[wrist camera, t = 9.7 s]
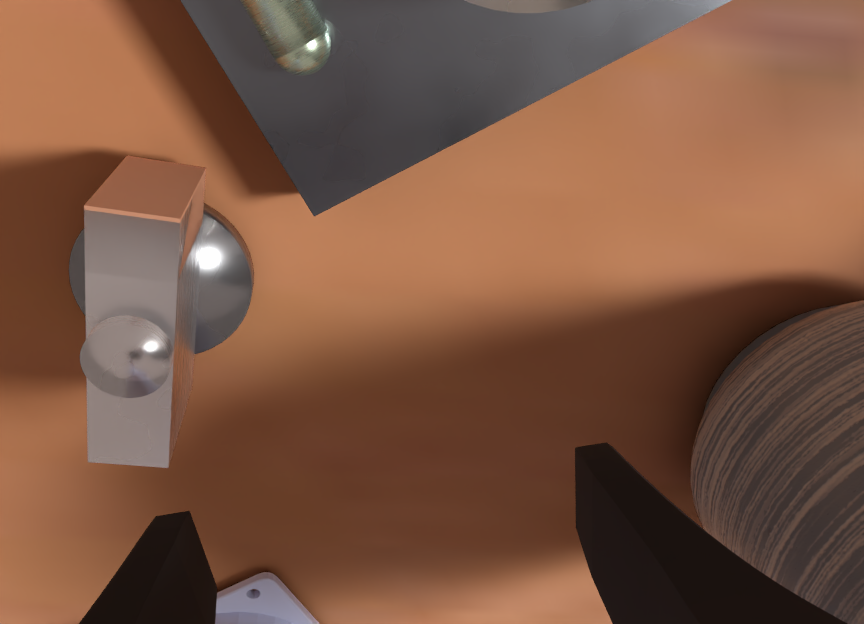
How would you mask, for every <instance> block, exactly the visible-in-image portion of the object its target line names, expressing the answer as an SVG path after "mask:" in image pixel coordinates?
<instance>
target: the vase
mask: <svg viewBox="0 0 864 624" xmlns="http://www.w3.org/2000/svg"><path fill="white" fill-rule="evenodd" d="M690 482H691V489H692V495H693V501H694V506H695V509H696V512H697V515H698V517H699V519H700V521H701V524H702V526H703V528H704V530H705V531H706V532H707V533H709V534H710V535H711V536H713V537H714V538H715V539H717V540H718V541H719V542H720V543H722V544H723V545H724V546H726V547H727V548H728V549H729V550H731V551H732V552H734V553H735V554H736V555H738V556H739V557H740V558H742V559H743V560H745V561H746V562H747V563H749V564H750V565H752V566H753V567H754V568H756V569H757V570H759V571H760V572H762V573H763V574H765V575H766V576H768V577H769V578H771V579H772V580H774V581H775V582H777V583H778V584H780V585H782V586H783V587H785V588H786V589H788V590H790V591H791V592H793V593H795V594H796V595H798V596H800V597H801V598H803V599H805V600H807V601H808V602H810V603H812V604H814V605H815V606H817V607H819V608H821V609H822V610H824V611H826V612H828V613H830V614H831V615H833V616H835V617H837V618H838V619H840V620H842V621H844V622H846V623H848V624H864V300H863V301H857V302H851V303H846V304H842V305H837V306H831V307H825V308H819V309H816V310H812V311H809V312H806V313H803V314H800V315H797V316H795V317H793V318H791V319H789V320H786V321H784V322H782V323H780V324H778V325H776V326H775V327H773V328H771V329H770V330H768V331H767V332H765V333H764V334H762V335H761V336H759V337H758V338H756V339H755V340H754V341H753V342H752V343H750V344H749V345H748V346H747V347H746V348H745V349H743V350H742V351H741V352H740V353H739V354H738V355H737V356H736V357H735V359H734V360H733V361H732V362H731V363H730V364H729V365H728V366H727V367H726V369H725V370H724V372H723V373H722V375H721V376H720V378H719V379H718V381H717V382H716V383H715V385H714V387H713V389H712V392H711V394H710V396H709V398H708V400H707V403H706V406H705V410H704V414H703V417H702V420H701V422H700V424H699V427H698V431H697V434H696V438H695V442H694V445H693V449H692V457H691V472H690Z"/></svg>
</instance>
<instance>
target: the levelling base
mask: <svg viewBox="0 0 864 624" xmlns="http://www.w3.org/2000/svg"><path fill="white" fill-rule="evenodd" d="M729 1H731V0H181V2H182V4H183V5H184V7H185V9H186V10H187V12H188V13H189V15H190V17H191V18H192V20H193V21H194V23H195V25H196V26H197V28H198V30H199V31H200V33H201V34H202V36H203V38H204V39H205V41H206V42H207V44H208V46H209V47H210V49H211V51H212V52H213V54H214V55H215V57H216V59H217V60H218V62H219V64H220V65H221V67H222V68H223V70H224V72H225V73H226V75H227V76H228V78H229V80H230V81H231V83H232V85H233V86H234V88H235V89H236V91H237V93H238V94H239V96H240V97H241V99H242V101H243V102H244V104H245V106H246V107H247V109H248V110H249V112H250V114H251V115H252V117H253V118H254V120H255V122H256V123H257V125H258V127H259V128H260V130H261V131H262V133H263V135H264V136H265V138H266V140H267V141H268V143H269V144H270V146H271V148H272V149H273V151H274V152H275V154H276V156H277V157H278V159H279V161H280V162H281V164H282V165H283V167H284V169H285V170H286V172H287V173H288V175H289V177H290V178H291V180H292V182H293V183H294V185H295V186H296V188H297V190H298V191H299V193H300V194H301V196H302V198H303V199H304V201H305V203H306V204H307V206H308V207H309V209H310V211H311V212H312V214H313V215H314V216H316V215H318V214H320V213H322V212H324V211H326V210H328V209H329V208H331V207H333V206H335V205H337V204H339V203H341V202H343V201H345V200H347V199H349V198H351V197H353V196H355V195H357V194H358V193H360V192H362V191H364V190H366V189H368V188H370V187H372V186H374V185H376V184H378V183H380V182H382V181H384V180H386V179H387V178H389V177H391V176H393V175H395V174H397V173H399V172H401V171H403V170H405V169H407V168H409V167H411V166H413V165H414V164H416V163H418V162H420V161H422V160H424V159H426V158H428V157H430V156H432V155H434V154H436V153H438V152H440V151H442V150H443V149H445V148H447V147H449V146H451V145H453V144H455V143H457V142H459V141H461V140H463V139H465V138H467V137H469V136H471V135H472V134H474V133H476V132H478V131H480V130H482V129H484V128H486V127H488V126H490V125H492V124H494V123H496V122H498V121H499V120H501V119H503V118H505V117H507V116H509V115H511V114H513V113H515V112H517V111H519V110H521V109H523V108H525V107H527V106H528V105H530V104H532V103H534V102H536V101H538V100H540V99H542V98H544V97H546V96H548V95H550V94H552V93H554V92H556V91H557V90H559V89H561V88H563V87H565V86H567V85H569V84H571V83H573V82H575V81H577V80H579V79H581V78H583V77H584V76H586V75H588V74H590V73H592V72H594V71H596V70H598V69H600V68H602V67H604V66H606V65H608V64H610V63H612V62H613V61H615V60H617V59H619V58H621V57H623V56H625V55H627V54H629V53H631V52H633V51H635V50H637V49H639V48H640V47H642V46H644V45H646V44H648V43H650V42H652V41H654V40H656V39H658V38H660V37H662V36H664V35H666V34H668V33H669V32H671V31H673V30H675V29H677V28H679V27H681V26H683V25H685V24H687V23H689V22H691V21H693V20H695V19H697V18H698V17H700V16H702V15H704V14H706V13H708V12H710V11H712V10H714V9H716V8H718V7H720V6H722V5H724V4H725V3H727V2H729Z"/></svg>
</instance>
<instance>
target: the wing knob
mask: <svg viewBox="0 0 864 624" xmlns="http://www.w3.org/2000/svg"><path fill="white" fill-rule="evenodd" d="M205 177H206V168H205V167H198V166H192V165H185V164H179V163H172V162H166V161H159V160H153V159H146V158H140V157H133V156H126V157H125V158H124V160H123V161H122V162H121V163H120V164H119V165H118V167H117V168H116V169H115V170H114V171H113V172H112V174H111V175H110V176H109V177H108V178H107V179H106V180H105V182H104V183H103V184H102V185H101V186H100V187H99V189H98V190H97V191H96V192H95V193H94V194H93V195H92V197H91V198H90V199H89V200H88V201H87V202H86V204H85V205H84V229H83V230H82V231H81V233H80V234H79V236H78V238H77V239H76V241H75V244H74V246H73V249H72V251H71V256H70V261H69V278H70V284H71V288H72V292H73V295H74V297H75V299H76V302H77V304H78V305H79V307H80V309H81V311H82V312H83V314H84V315H85V316H86V340H85V342H84V344H83V346H82V348H81V352H80V364H81V368H82V370H83V372H84V374H85V376H86V377H87V440H88V462H93V463H107V464H121V465H134V466H148V467H161V468H168V467H169V464H170V461H171V457H172V454H173V451H174V447H175V444H176V441H177V437H178V434H179V430H180V427H181V424H182V420H183V417H184V414H185V410H186V407H187V403H188V400H189V397H190V393H191V390H192V384H193V368H194V354H197V353H201V352H204V351H206V350H209V349H211V348H213V347H215V346H216V345H218V344H220V343H222V342H223V341H224V340H225V339H227V338H228V337H229V336H230V335H231V334H232V333H233V332H234V331H235V330H236V329H237V328H238V326H239V325H240V324H241V322H242V321H243V319H244V317H245V315H246V313H247V310H248V307H249V304H250V300H251V296H252V290H253V285H254V270H253V263H252V259H251V255H250V252H249V250H248V248H247V245H246V243H245V242H244V240H243V238H242V237H241V235H240V234H239V232H238V231H237V230H236V228H235V227H234V226H233V225H232V224H231V223H230V222H229V221H228V220H227V219H226V218H225V217H224V216H223V215H221V214H220V213H219V212H218V211H216V210H215V209H213V208H211V207H210V206H208V205H207V204H205V203H204V193H205Z"/></svg>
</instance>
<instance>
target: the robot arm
mask: <svg viewBox="0 0 864 624" xmlns="http://www.w3.org/2000/svg"><path fill="white" fill-rule="evenodd" d="M575 481H576V529H577V532H578V535H579V538H580V542H581V545H582V548H583V551H584V554H585V557H586V561H587V564H588V567H589V570H590V573H591V576H592V578H593V581H594V583H595V585H596V587H597V590H598V592H599V594H600V596H601V599H602V601H603V603H604V605H605V607H606V610H607V612H608V614H609V616H610V618H611V621H612V623H613V624H848V623H846V622H844V621H842V620H840V619H838V618H837V617H835V616H833V615H831V614H830V613H828V612H826V611H824V610H822V609H821V608H819V607H817V606H815V605H814V604H812V603H810V602H808V601H807V600H805V599H803V598H801V597H800V596H798V595H796V594H795V593H793V592H791V591H790V590H788V589H786V588H785V587H783V586H782V585H780V584H778V583H777V582H775V581H774V580H772V579H771V578H769V577H768V576H766V575H765V574H763V573H762V572H760V571H759V570H757V569H756V568H754V567H753V566H752V565H750V564H749V563H747V562H746V561H745V560H743V559H742V558H740V557H739V556H738V555H736V554H735V553H734V552H732V551H731V550H729V549H728V548H727V547H726V546H724V545H723V544H722V543H720V542H719V541H718V540H717V539H715V538H714V537H713V536H711V535H710V534H709V533H707V532H706V531H705V530H704V529H703V528H701V527H700V526H699V525H698V524H696V523H695V522H694V521H693V520H692V519H690V518H689V517H688V516H687V515H686V514H685V513H683V512H682V511H681V510H680V509H679V508H678V507H676V506H675V505H674V504H673V503H672V502H671V501H669V500H668V499H667V498H666V497H665V496H664V495H663V494H662V493H660V492H659V491H658V490H657V489H656V488H655V487H654V486H653V485H652V484H651V483H650V482H648V481H647V480H646V479H645V478H644V477H643V476H642V475H641V474H640V473H639V472H638V471H637V470H636V469H635V468H634V467H633V466H632V465H631V464H630V463H629V462H627V461H626V460H625V459H624V458H623V457H622V456H621V455H620V454H619V453H618V452H617V451H616V450H615V449H614V448H613V447H612V446H611V445H609V444H608V443H601V444H595V445H588V446H582V447H576V448H575ZM251 589H257V590H251ZM79 624H320V623H319V622H318V621H317V620H316V619H315V618H314V617H313V616H312V615H311V614H310V612H309V611H308V610H307V609H306V608H305V607H304V606H303V605H302V604H301V602H300V601H299V600H298V599H297V598H296V597H295V596H294V595H293V594H292V592H291V591H290V590H289V589H288V588H287V587H286V586H285V585H284V584H283V583H282V581H281V580H280V579H279V578H278V577H277V576H276V575H274V574H273V573H269V572H263V573H259V574H257V575H255V576H252V577H250V578H248V579H246V580H244V581H241V582H239V583H237V584H235V585H233V586H231V587H228V588H226V589H224V590H222V591H220V592H217V586H216V583H215V580H214V578H213V575H212V572H211V569H210V566H209V564H208V561H207V558H206V555H205V553H204V550H203V547H202V544H201V541H200V539H199V536H198V533H197V530H196V528H195V525H194V522H193V519H192V516H191V514H190V511H186V512H180V513H173V514H167V515H161V516H156V517H155V518H154V519H153V521H152V522H151V523H150V525H149V526H148V528H147V529H146V530H145V532H144V533H143V535H142V536H141V538H140V539H139V541H138V542H137V543H136V545H135V546H134V548H133V549H132V551H131V552H130V554H129V555H128V556H127V558H126V559H125V561H124V562H123V564H122V565H121V567H120V568H119V569H118V571H117V572H116V574H115V575H114V577H113V578H112V579H111V581H110V582H109V584H108V585H107V586H106V588H105V589H104V590H103V592H102V593H101V595H100V596H99V597H98V599H97V600H96V601H95V603H94V604H93V605H92V607H91V608H90V610H89V611H88V612H87V614H86V615H85V616H84V618H83V619H82V620H81V622H80V623H79Z"/></svg>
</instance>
